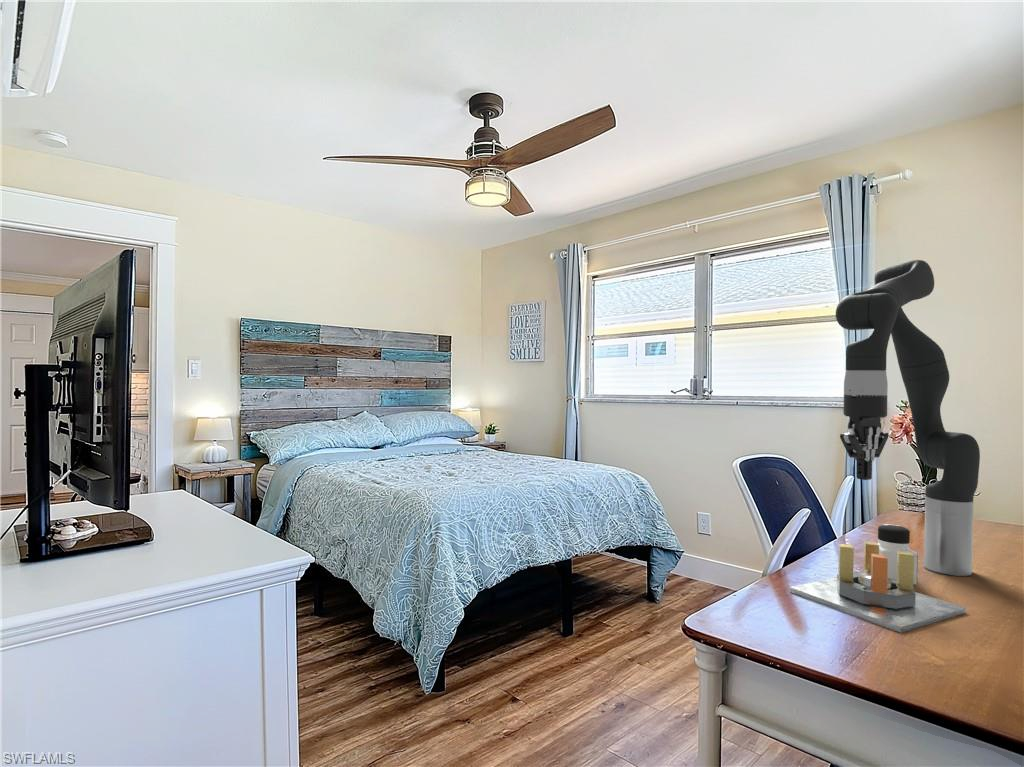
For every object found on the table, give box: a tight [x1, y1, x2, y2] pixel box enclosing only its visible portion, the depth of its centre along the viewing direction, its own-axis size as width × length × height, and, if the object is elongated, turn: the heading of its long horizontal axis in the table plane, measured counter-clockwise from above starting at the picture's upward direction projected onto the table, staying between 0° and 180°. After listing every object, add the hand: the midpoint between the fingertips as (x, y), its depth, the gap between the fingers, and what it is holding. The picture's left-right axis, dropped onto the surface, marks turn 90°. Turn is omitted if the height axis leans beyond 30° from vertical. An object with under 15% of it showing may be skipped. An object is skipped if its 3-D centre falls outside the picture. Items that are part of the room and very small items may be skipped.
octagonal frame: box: [836, 541, 916, 609], centre depth 116 cm, size 13×13×9 cm
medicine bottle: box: [877, 524, 919, 586], centre depth 131 cm, size 7×7×12 cm
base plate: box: [789, 572, 967, 634], centre depth 116 cm, size 22×22×5 cm
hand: (864, 479), depth 116 cm, fingers closed
